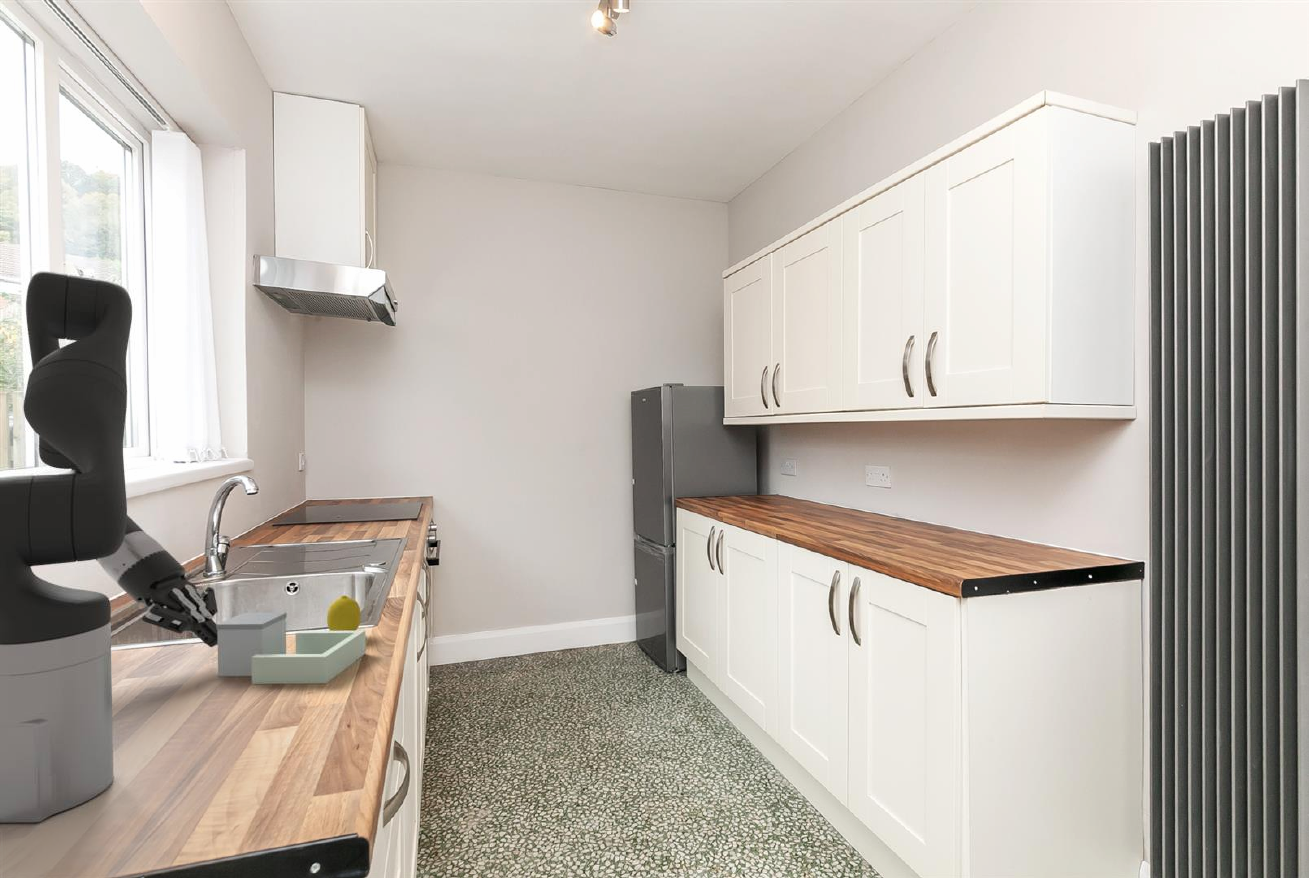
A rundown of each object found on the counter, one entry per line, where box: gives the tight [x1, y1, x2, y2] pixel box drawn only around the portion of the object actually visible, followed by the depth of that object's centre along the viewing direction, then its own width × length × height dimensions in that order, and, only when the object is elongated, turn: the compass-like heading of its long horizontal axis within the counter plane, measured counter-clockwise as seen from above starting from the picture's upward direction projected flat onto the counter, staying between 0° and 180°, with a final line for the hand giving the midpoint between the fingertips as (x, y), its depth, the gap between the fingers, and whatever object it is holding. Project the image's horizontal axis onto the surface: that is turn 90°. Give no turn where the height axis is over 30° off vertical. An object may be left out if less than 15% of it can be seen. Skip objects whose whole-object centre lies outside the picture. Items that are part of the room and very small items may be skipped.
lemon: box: [326, 595, 362, 631], centre depth 113 cm, size 6×6×8 cm
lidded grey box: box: [216, 612, 287, 677], centre depth 99 cm, size 6×7×8 cm
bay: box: [251, 630, 366, 685], centre depth 99 cm, size 12×11×4 cm
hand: (219, 641), depth 99 cm, fingers closed
